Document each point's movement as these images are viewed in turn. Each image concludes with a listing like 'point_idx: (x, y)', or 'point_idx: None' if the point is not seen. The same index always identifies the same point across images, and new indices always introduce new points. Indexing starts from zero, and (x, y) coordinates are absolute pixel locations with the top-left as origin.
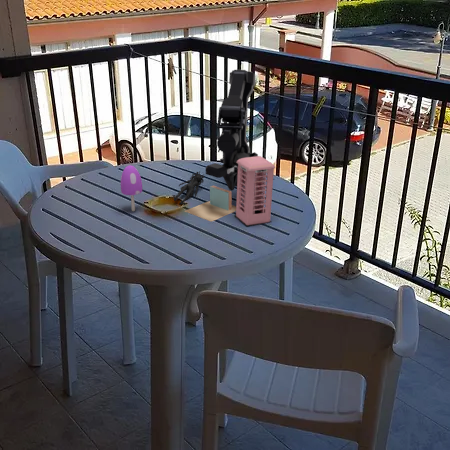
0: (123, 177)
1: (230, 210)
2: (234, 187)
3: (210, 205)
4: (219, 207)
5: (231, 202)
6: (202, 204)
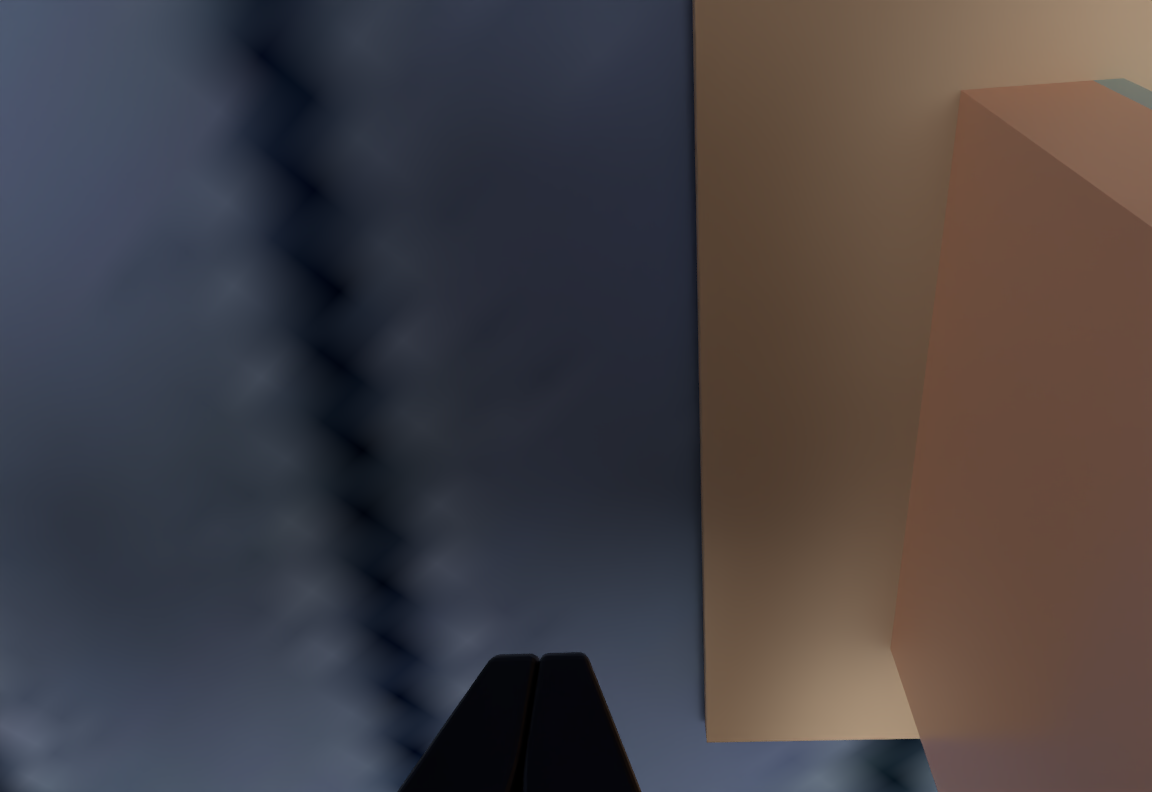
0: None
1: (1072, 30)
2: (446, 722)
3: None
4: None
5: (1052, 152)
6: None
